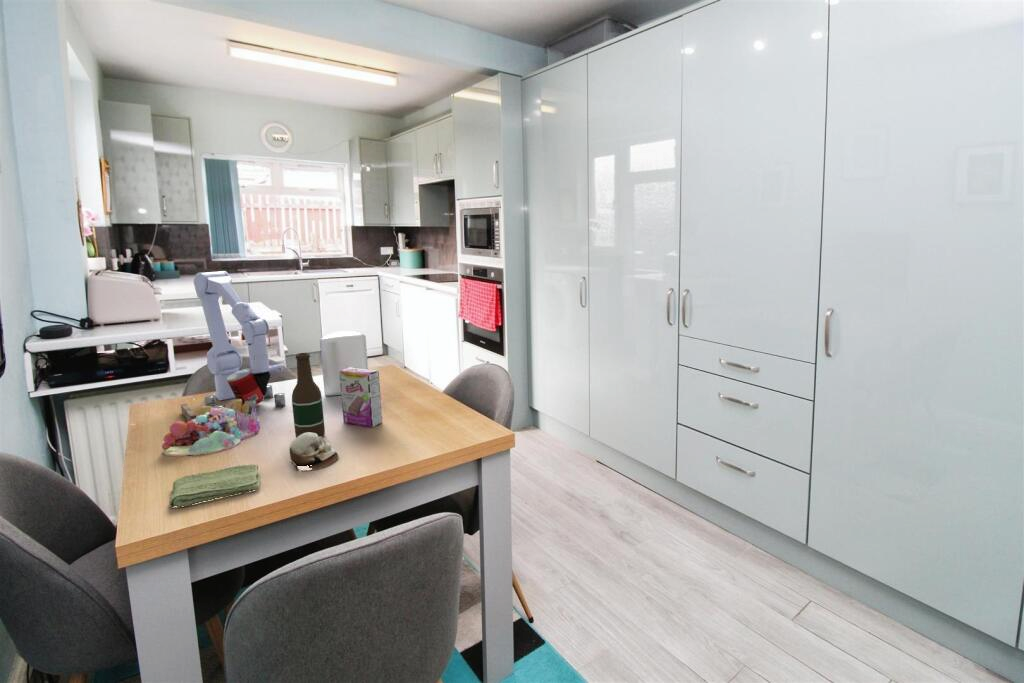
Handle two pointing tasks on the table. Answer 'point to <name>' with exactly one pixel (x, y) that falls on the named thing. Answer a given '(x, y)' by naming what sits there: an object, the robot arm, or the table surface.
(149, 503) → the table surface
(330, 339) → the white tall block
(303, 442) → the skull
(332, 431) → the table surface
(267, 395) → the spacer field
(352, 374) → the candy bar box
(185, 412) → the stop batten
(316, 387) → the beer bottle
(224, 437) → the candy landscape model
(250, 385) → the canned food
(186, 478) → the washcloth
